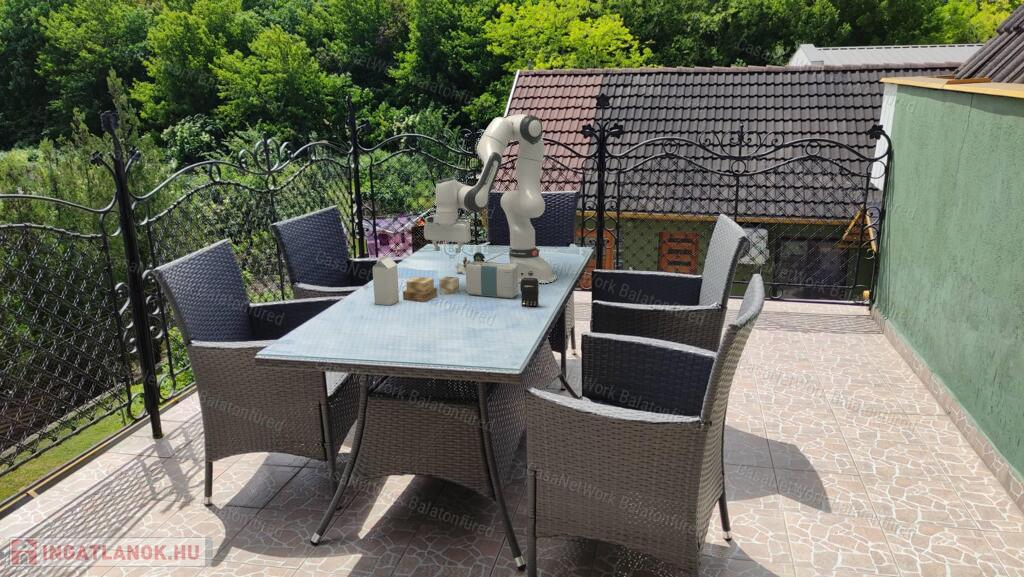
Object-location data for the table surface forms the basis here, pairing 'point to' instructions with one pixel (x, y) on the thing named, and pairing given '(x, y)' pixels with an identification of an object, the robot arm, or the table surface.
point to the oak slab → (420, 284)
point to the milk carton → (385, 281)
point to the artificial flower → (476, 257)
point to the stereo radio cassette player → (492, 278)
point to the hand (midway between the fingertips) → (447, 251)
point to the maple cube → (449, 285)
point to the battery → (530, 291)
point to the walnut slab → (419, 295)
